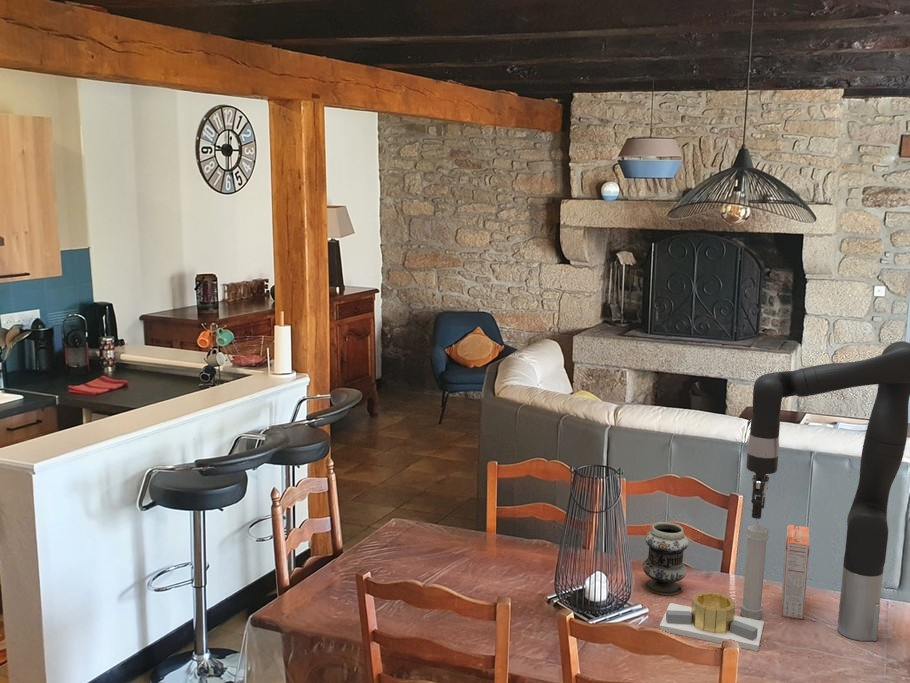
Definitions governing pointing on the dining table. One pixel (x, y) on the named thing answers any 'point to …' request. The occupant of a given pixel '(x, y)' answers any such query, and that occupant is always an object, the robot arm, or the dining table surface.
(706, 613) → the collar
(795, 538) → the cracker box
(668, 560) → the apothecary jar
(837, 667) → the dining table surface
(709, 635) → the shaft base
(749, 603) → the pipe
